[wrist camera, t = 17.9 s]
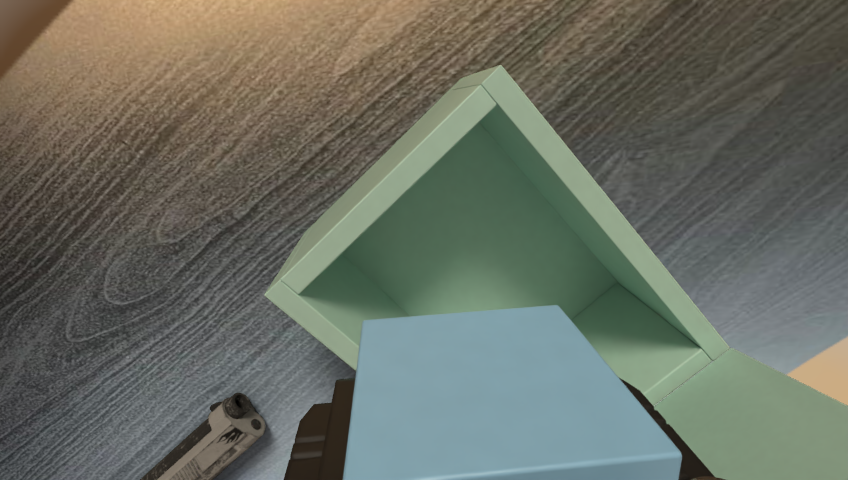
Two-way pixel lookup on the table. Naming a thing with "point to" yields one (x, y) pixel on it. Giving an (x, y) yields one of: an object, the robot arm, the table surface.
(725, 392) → the lid
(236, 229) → the table surface
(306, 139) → the table surface
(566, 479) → the blue-grey cube
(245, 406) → the handgun
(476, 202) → the green open box
